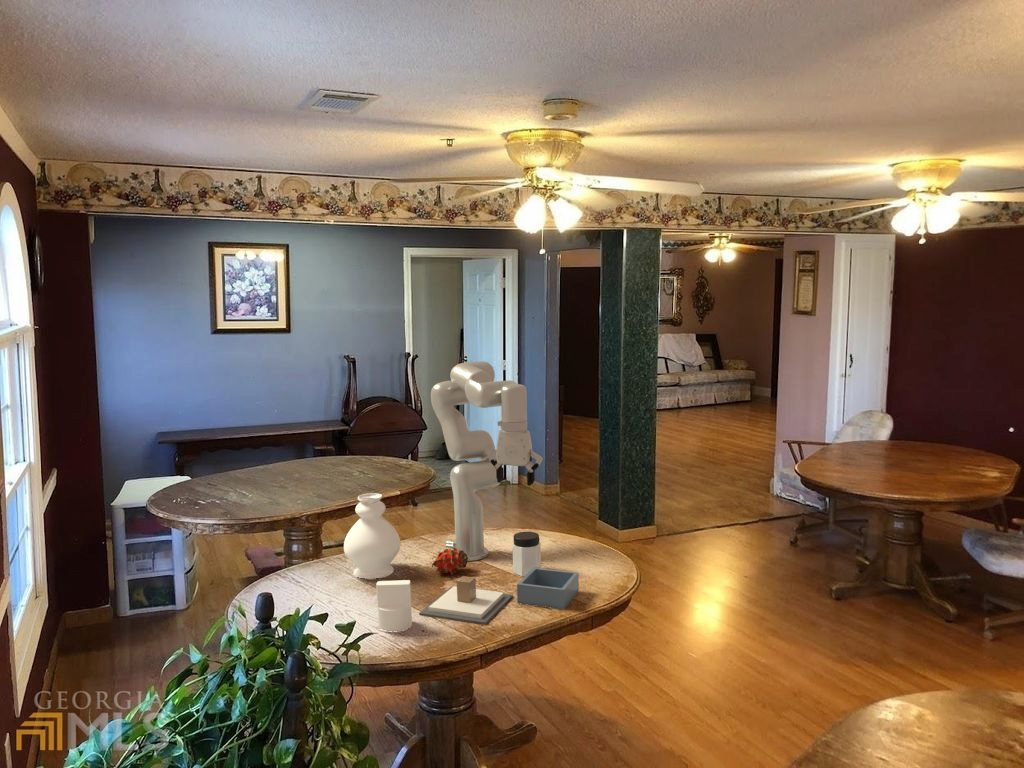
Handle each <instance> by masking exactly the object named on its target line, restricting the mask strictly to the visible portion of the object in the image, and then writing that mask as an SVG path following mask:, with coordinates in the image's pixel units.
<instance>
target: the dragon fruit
mask: <svg viewBox="0 0 1024 768" xmlns="http://www.w3.org/2000/svg"><path fill="white" fill-rule="evenodd" d="M467 559H468V557H467V554H466V553H464V551H463V550H461V551H460V550H457V549H456V548H454V547H453V549H452V548H444V550H443V551H442V552H439V553H438V555H437V557H436V558H435V560H434V561H433V563H432V565H431V566H432V568H433V567H435V568H436V572H437V573H439V574H442V573H443V574H447V573H450V576H451V575H454V574H456V573H459V572H460V571H461V570H462V569H465V568H467V564H468V561H467Z"/></svg>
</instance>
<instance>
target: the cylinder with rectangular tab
mask: <svg viewBox="0 0 1024 768" xmlns="http://www.w3.org/2000/svg"><path fill="white" fill-rule="evenodd" d="M375 585H376V586H375V587H376V602H377V603H376V604H377V619H378V620H377V623H378V625H377V626H379V627H378V629H379V628H380V629H383V630H386V631H392V632H394V631H397V632H396V633H399V632H398V631H402V632H404V631H403V630H405V631H407V630H409V629H410V628H411V627H412V626H413V619H412V618H413V615H412V595H411V580H410V579H407V580H406V579H402V580H378V581H377V582H376V584H375ZM411 625H412V626H411ZM409 627H410V628H409ZM408 628H409V629H408ZM380 629H379V630H380ZM406 629H407V630H406Z"/></svg>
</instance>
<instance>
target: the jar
mask: <svg viewBox="0 0 1024 768" xmlns="http://www.w3.org/2000/svg"><path fill="white" fill-rule="evenodd" d="M511 546H512V573H513V574H514V575H518V576H519V575H520V577H522V578H524V577H525V576H526V575H527V574H528V573H529V572H530V571H531V570H532V569H533V568H542V556H541V555H542V551H541V550H542V549H541V542H540V535H539V533H538V532H535V531H520V532H516V533H514V535H513V544H512V545H511Z"/></svg>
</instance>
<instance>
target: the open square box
mask: <svg viewBox="0 0 1024 768" xmlns="http://www.w3.org/2000/svg"><path fill="white" fill-rule="evenodd" d="M579 576H580V575H579V572H577V571H575V572H574V571H568V570H567V571H566V570H559V569H549V568H542V567H541V568H533V569H532V570H531V571H530V572H529V573H528V574H527V575H526V576H525V577H522V578H521V580H520V581H518V583H516V596H517V598H516V602H517V604H518V603H519V605H525V604H528V605H527V606H533V605H537V606H536V607H540V606H544V607H543V608H548V607H551V608H550V609H556V608H557V609H558V610H566V608H567V607H568V606H569V605H570V603H571V602H572V601H573V600H574V598H575V597H576V596H577V594H578V593H579V592H580V588H579V587H580V586H579V585H580V584H579V578H580V577H579ZM578 591H579V592H578ZM520 603H521V604H520ZM545 606H546V607H545Z"/></svg>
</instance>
